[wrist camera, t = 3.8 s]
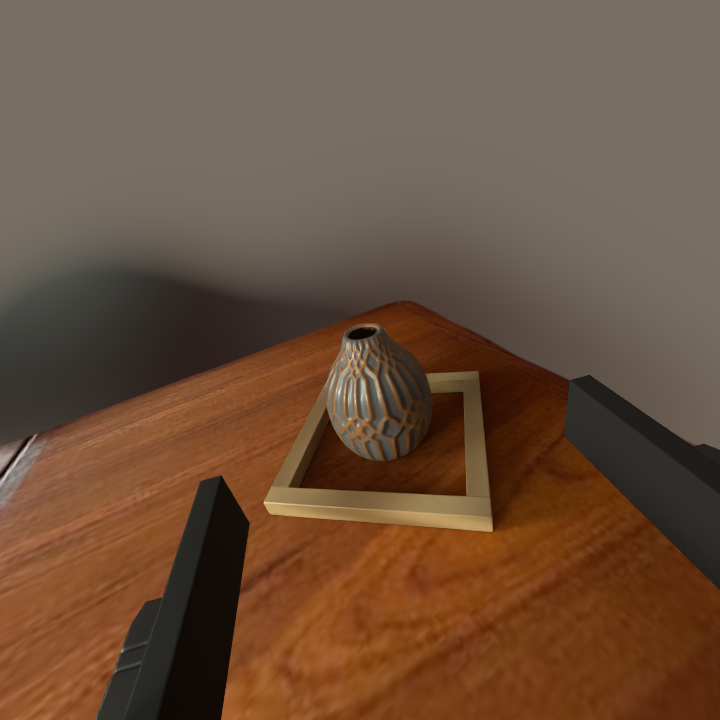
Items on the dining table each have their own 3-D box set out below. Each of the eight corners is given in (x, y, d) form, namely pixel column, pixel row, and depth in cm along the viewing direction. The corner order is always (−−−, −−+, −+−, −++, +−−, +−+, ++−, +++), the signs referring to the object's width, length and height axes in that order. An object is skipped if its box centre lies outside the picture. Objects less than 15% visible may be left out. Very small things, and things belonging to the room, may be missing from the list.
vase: (349, 492, 22) (309, 376, 17) (335, 424, 28) (303, 325, 23) (454, 459, 22) (439, 338, 18) (418, 399, 28) (400, 298, 24)
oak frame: (479, 382, 28) (478, 370, 28) (493, 532, 18) (492, 517, 17) (331, 389, 32) (327, 378, 32) (269, 514, 22) (262, 502, 21)
